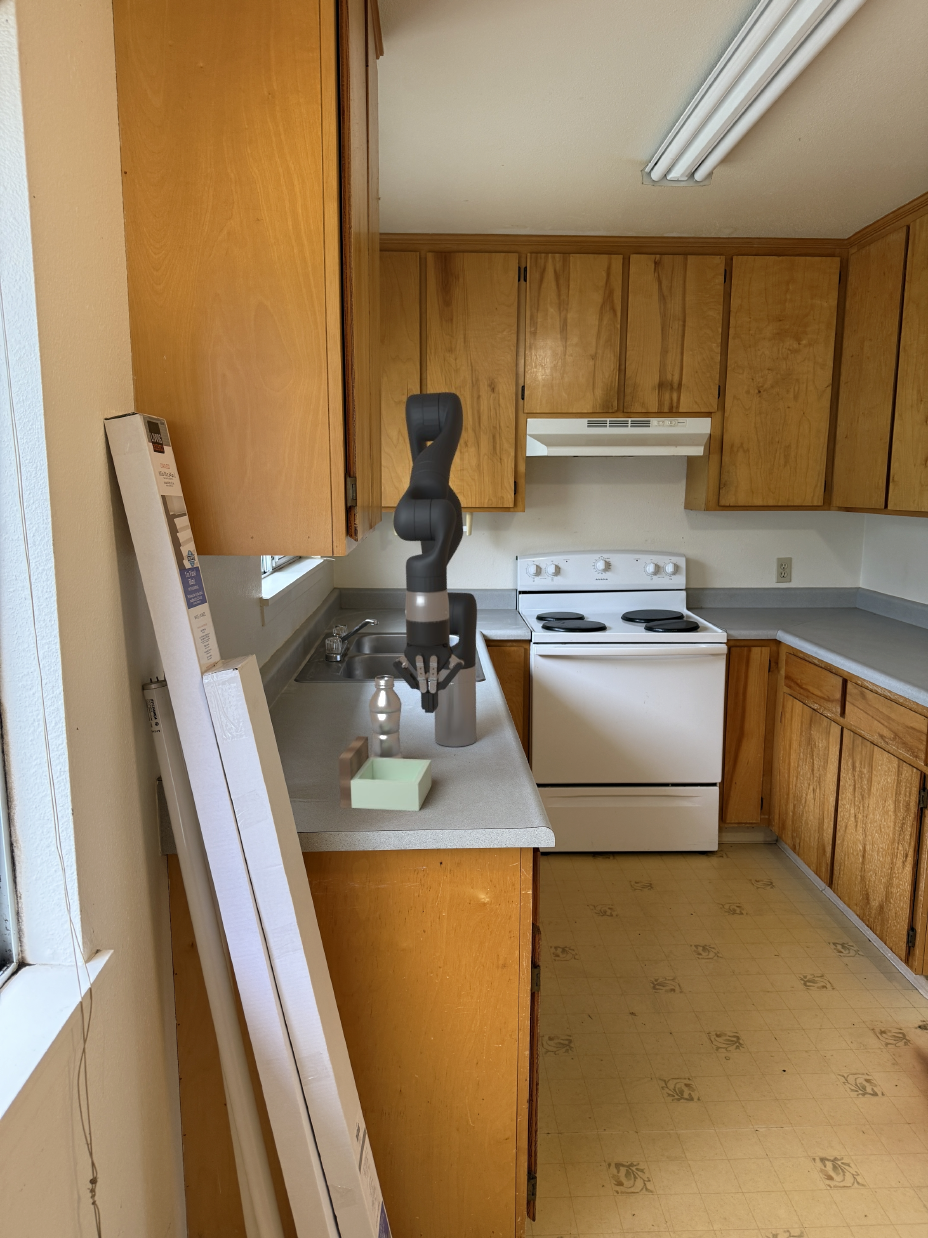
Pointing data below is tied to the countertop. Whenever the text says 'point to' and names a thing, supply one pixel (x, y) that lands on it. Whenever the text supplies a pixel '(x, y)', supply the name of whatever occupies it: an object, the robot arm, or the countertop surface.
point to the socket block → (391, 784)
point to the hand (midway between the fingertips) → (429, 711)
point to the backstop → (351, 767)
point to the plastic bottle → (385, 719)
